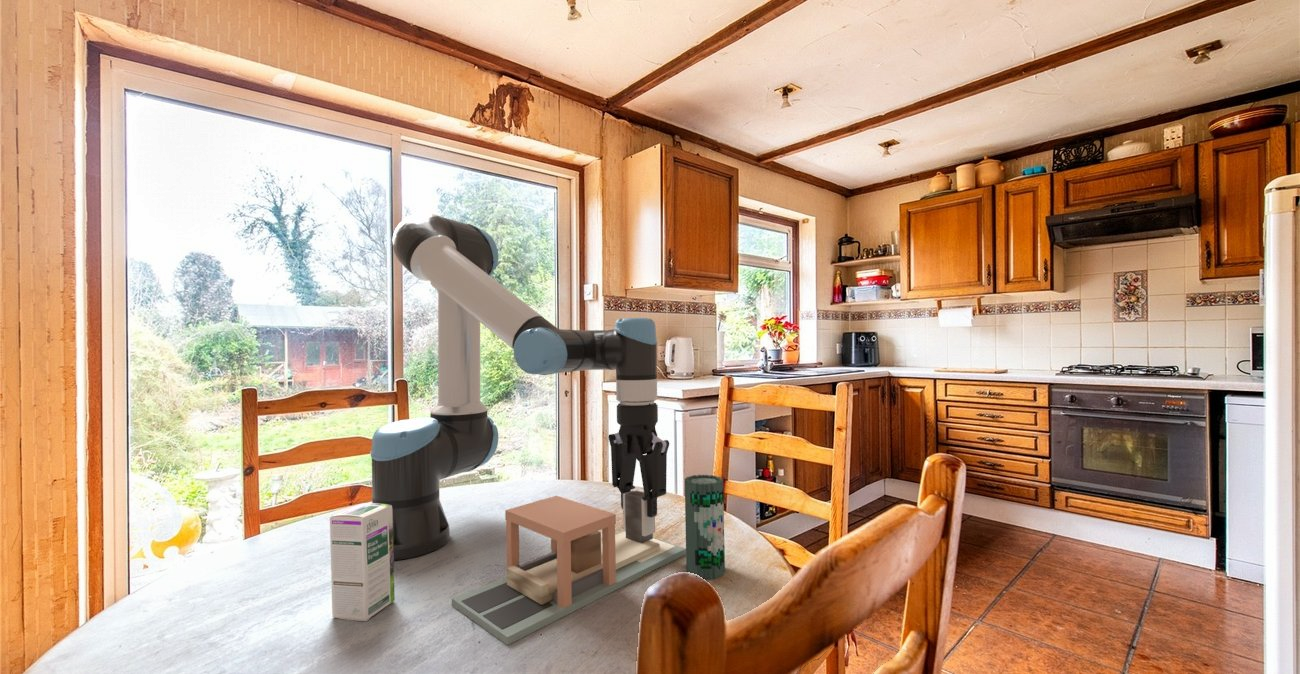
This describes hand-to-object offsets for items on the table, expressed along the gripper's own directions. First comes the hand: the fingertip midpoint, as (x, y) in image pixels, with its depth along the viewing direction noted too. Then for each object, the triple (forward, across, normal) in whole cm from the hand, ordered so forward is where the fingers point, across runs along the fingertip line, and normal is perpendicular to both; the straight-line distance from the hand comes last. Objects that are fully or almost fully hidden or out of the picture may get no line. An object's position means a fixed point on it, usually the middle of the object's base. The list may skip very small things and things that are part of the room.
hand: (639, 530), depth 92 cm
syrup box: (+4, +16, +41) cm, 44 cm away
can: (+4, -14, -1) cm, 15 cm away
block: (+1, 0, +14) cm, 14 cm away
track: (+4, 0, +14) cm, 14 cm away
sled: (+2, 0, +11) cm, 12 cm away
